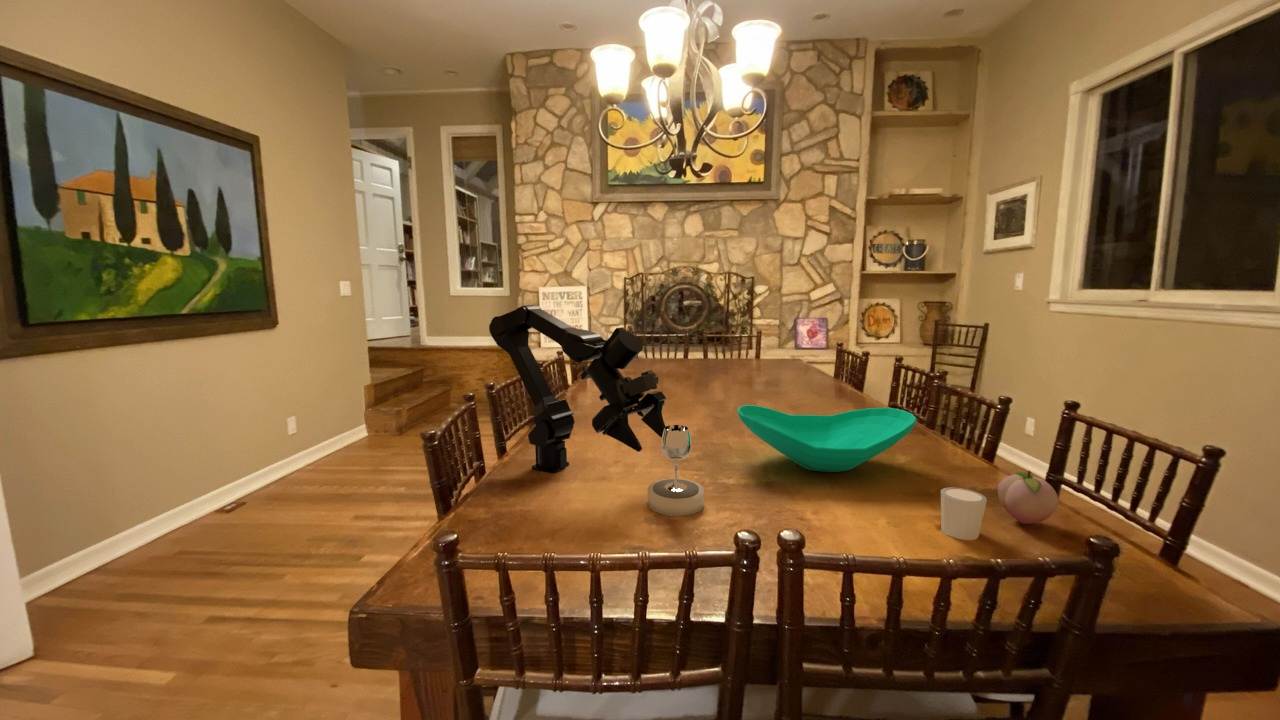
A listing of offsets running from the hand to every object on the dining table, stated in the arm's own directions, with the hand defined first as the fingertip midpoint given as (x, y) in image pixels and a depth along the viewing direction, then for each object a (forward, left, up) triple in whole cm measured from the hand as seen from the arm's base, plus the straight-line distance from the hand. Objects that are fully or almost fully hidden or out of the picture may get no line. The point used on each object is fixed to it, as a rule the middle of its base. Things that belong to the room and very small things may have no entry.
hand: (654, 444), depth 105 cm
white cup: (+54, +10, -11) cm, 56 cm away
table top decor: (+28, +33, -11) cm, 45 cm away
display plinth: (+5, -1, -11) cm, 12 cm away
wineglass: (+5, -1, -8) cm, 10 cm away
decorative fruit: (+65, +19, -11) cm, 69 cm away
